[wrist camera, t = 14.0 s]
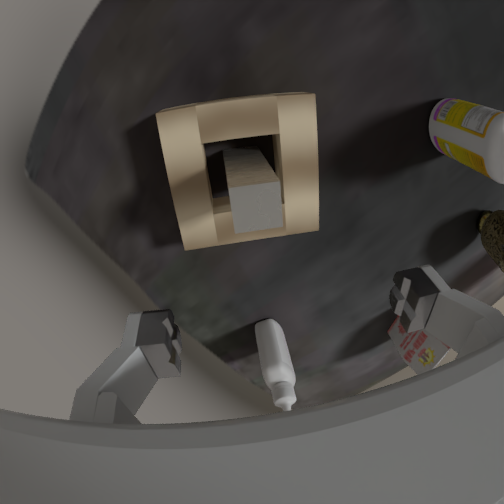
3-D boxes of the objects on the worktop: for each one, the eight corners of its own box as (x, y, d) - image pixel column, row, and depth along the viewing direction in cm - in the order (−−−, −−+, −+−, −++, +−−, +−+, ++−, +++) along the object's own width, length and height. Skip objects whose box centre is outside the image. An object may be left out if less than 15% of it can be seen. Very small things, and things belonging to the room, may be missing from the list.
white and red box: (425, 299, 40) (458, 346, 31) (403, 331, 43) (431, 378, 35) (408, 297, 39) (443, 348, 30) (387, 331, 42) (414, 381, 34)
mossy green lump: (462, 247, 35) (495, 280, 29) (469, 200, 31) (509, 230, 25) (493, 236, 35) (525, 264, 29) (501, 192, 31) (538, 218, 25)
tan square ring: (162, 109, 23) (155, 113, 20) (302, 91, 23) (314, 93, 20) (187, 231, 29) (185, 250, 26) (308, 213, 30) (318, 230, 27)
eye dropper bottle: (290, 316, 37) (315, 397, 27) (281, 346, 40) (300, 422, 30) (256, 316, 36) (272, 401, 26) (249, 346, 39) (262, 425, 29)
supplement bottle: (463, 154, 28) (543, 200, 17) (423, 152, 27) (509, 202, 17) (467, 100, 24) (555, 131, 13) (427, 92, 24) (523, 120, 13)
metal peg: (222, 149, 26) (228, 188, 17) (256, 145, 26) (280, 181, 17) (227, 181, 27) (235, 233, 19) (259, 176, 27) (283, 226, 19)
